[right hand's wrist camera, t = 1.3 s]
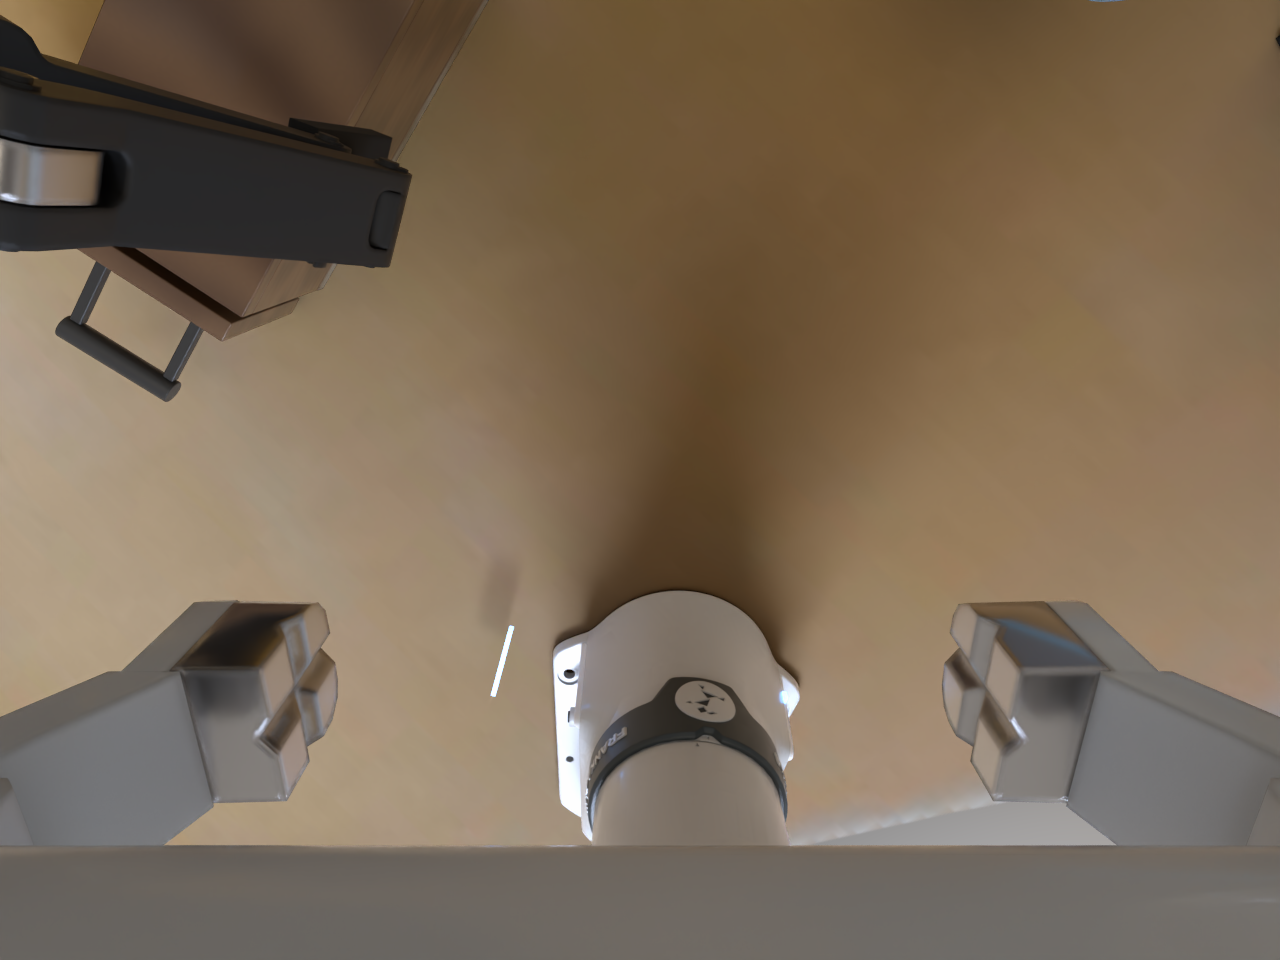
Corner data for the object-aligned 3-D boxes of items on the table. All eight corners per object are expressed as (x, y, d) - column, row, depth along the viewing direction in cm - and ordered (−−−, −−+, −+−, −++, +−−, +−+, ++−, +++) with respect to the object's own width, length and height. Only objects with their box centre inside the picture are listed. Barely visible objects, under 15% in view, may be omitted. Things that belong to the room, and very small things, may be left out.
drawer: (248, 389, 50) (173, 430, 42) (104, 298, 48) (-3, 324, 40) (453, 28, 42) (409, -5, 34) (293, -98, 40) (207, -164, 32)
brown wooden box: (323, 288, 49) (241, 318, 39) (159, 177, 46) (28, 179, 36) (501, -22, 42) (458, -80, 33) (322, -168, 40) (218, -278, 30)
